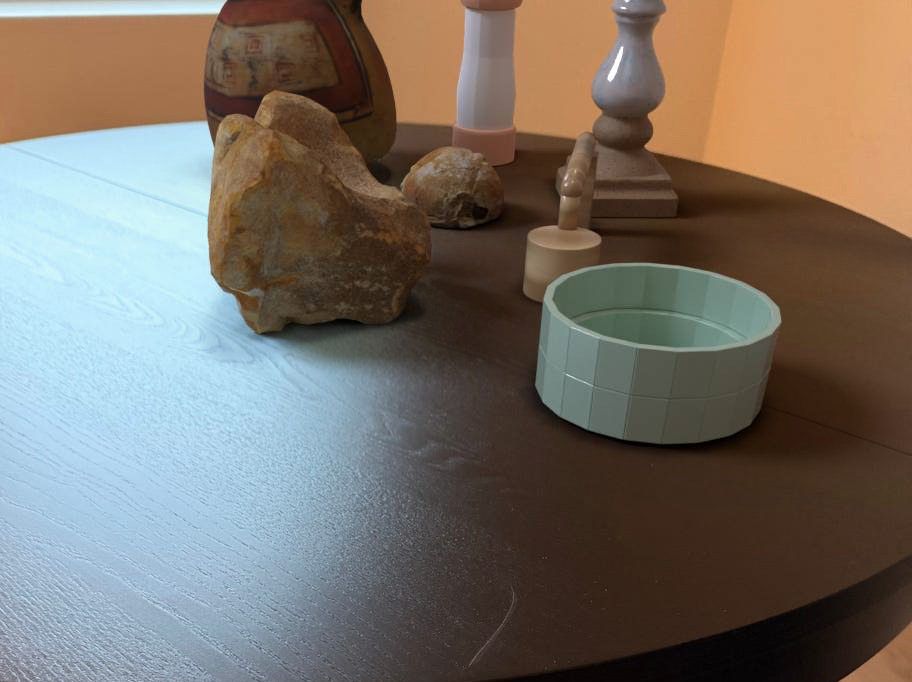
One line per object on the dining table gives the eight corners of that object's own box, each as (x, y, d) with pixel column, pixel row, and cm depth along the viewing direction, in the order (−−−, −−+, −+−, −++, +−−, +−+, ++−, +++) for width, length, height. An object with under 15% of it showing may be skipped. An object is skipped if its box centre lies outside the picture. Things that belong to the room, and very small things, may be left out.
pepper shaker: (492, 147, 124) (503, -43, 112) (526, 162, 119) (541, -35, 107) (440, 153, 121) (445, -41, 109) (472, 169, 117) (481, -32, 104)
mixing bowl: (752, 368, 76) (774, 273, 72) (762, 467, 65) (789, 362, 60) (548, 347, 79) (557, 254, 74) (522, 440, 67) (531, 336, 62)
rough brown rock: (412, 384, 75) (436, 164, 66) (184, 355, 74) (176, 129, 65) (432, 280, 93) (452, 97, 84) (249, 256, 93) (250, 70, 84)
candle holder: (653, 186, 113) (693, -79, 98) (677, 217, 104) (725, -68, 89) (553, 185, 112) (578, -82, 97) (570, 217, 104) (601, -71, 89)
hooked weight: (591, 314, 84) (605, 200, 78) (518, 307, 85) (527, 193, 79) (608, 230, 101) (621, 131, 95) (547, 225, 101) (556, 127, 96)
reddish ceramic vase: (210, 151, 120) (176, -178, 101) (382, 148, 123) (380, -172, 104) (213, 202, 105) (174, -173, 86) (409, 196, 108) (413, -167, 89)
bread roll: (427, 268, 101) (450, 200, 95) (374, 197, 104) (393, 126, 98) (504, 250, 106) (532, 184, 99) (452, 182, 109) (475, 114, 102)
